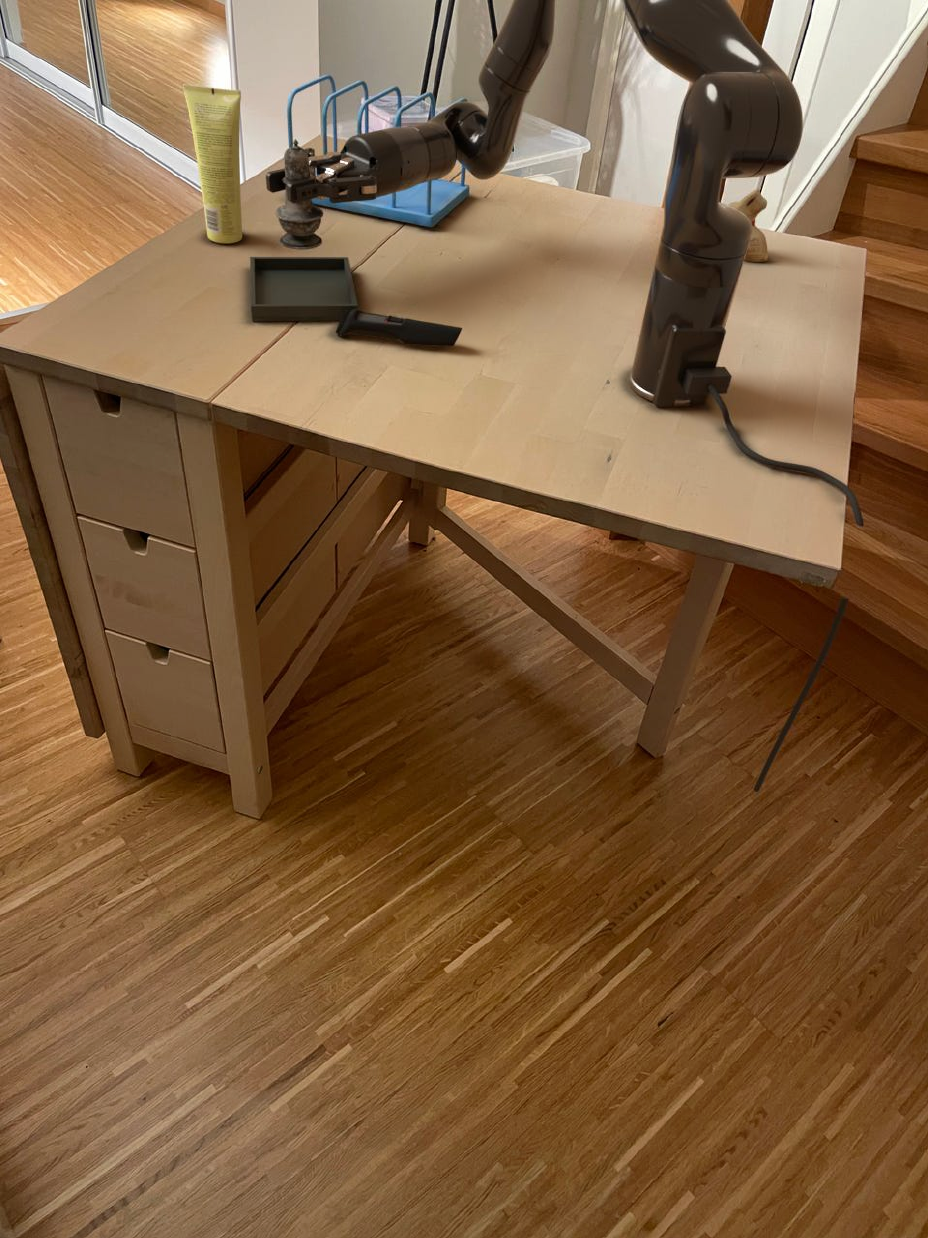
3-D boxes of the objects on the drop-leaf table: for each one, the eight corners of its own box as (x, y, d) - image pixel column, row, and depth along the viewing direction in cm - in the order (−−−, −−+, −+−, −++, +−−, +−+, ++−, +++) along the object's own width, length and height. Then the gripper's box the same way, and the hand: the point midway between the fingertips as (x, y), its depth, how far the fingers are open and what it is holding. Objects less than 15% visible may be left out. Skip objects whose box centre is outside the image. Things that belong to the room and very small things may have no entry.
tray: (358, 320, 117) (358, 305, 116) (252, 321, 115) (250, 306, 113) (348, 271, 128) (348, 256, 126) (251, 271, 125) (250, 256, 124)
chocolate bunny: (734, 242, 147) (752, 176, 140) (771, 260, 142) (791, 193, 135) (709, 247, 144) (727, 180, 137) (746, 266, 140) (766, 198, 133)
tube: (235, 228, 136) (221, 79, 122) (253, 240, 133) (240, 89, 120) (200, 235, 133) (182, 83, 120) (217, 247, 130) (201, 93, 117)
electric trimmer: (457, 358, 112) (459, 334, 110) (334, 337, 113) (333, 312, 111) (462, 344, 115) (465, 320, 113) (342, 324, 116) (342, 300, 114)
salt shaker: (271, 234, 117) (263, 132, 109) (315, 229, 119) (311, 129, 111) (285, 252, 114) (278, 148, 105) (330, 247, 116) (327, 145, 107)
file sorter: (469, 196, 153) (477, 93, 142) (432, 231, 141) (437, 121, 130) (332, 169, 158) (330, 67, 147) (284, 200, 146) (278, 91, 135)
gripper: (350, 115, 120) (240, 138, 111) (424, 146, 114) (313, 172, 104) (351, 176, 125) (246, 202, 116) (422, 208, 119) (316, 239, 109)
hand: (279, 188), depth 110 cm, fingers closed on salt shaker, 3 cm apart
